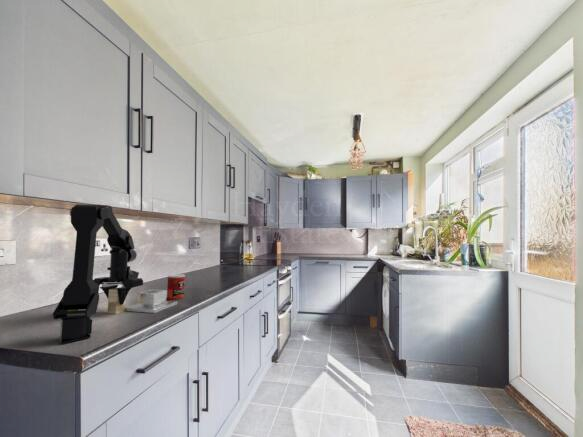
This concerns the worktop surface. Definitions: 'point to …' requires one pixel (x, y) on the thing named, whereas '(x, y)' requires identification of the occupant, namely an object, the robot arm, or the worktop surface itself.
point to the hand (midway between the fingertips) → (116, 304)
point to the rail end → (114, 302)
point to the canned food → (176, 286)
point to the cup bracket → (151, 302)
